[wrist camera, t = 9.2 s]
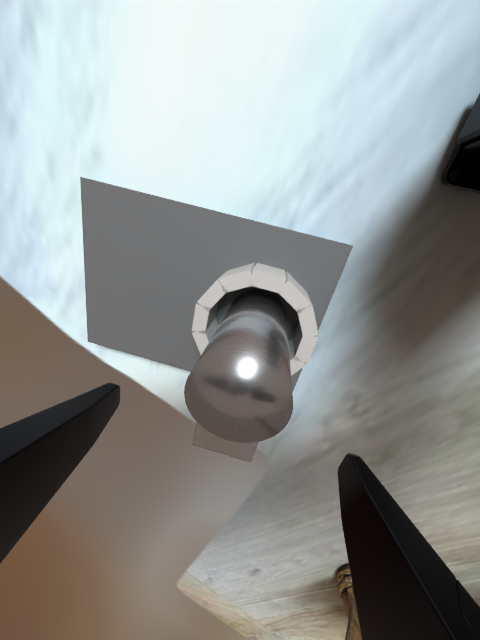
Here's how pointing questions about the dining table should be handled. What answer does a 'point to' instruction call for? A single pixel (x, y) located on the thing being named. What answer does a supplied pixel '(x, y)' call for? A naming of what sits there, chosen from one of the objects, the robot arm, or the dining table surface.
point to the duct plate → (194, 274)
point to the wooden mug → (349, 603)
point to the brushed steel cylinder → (243, 378)
